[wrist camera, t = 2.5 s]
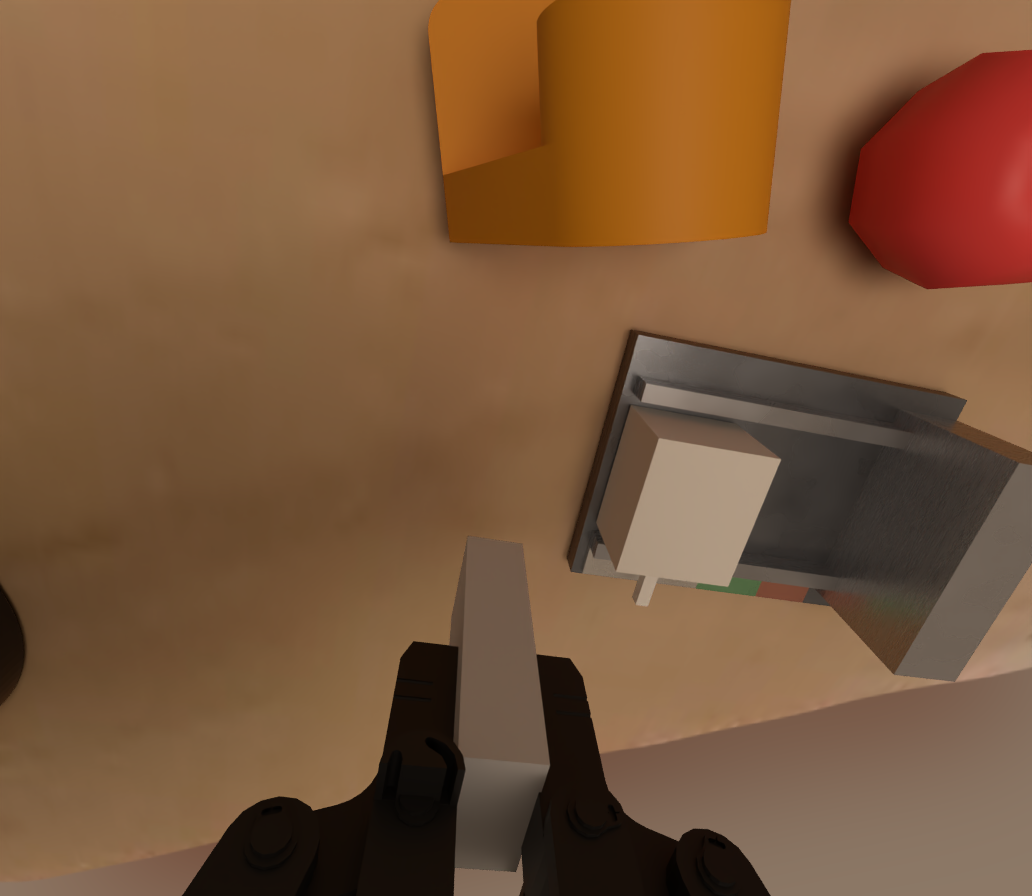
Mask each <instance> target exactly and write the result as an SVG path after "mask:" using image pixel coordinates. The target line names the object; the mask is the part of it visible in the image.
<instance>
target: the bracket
mask: <svg viewBox="0 0 1032 896" xmlns="http://www.w3.org/2000/svg"><path fill="white" fill-rule="evenodd" d="M790 5H791V0H439V1H438V2H437V4H436V5H435V6H434V8H433V10H432V12H431V15H430V18H429V24H428V35H429V44H430V54H431V64H432V73H433V83H434V93H435V102H436V112H437V122H438V131H439V141H440V151H441V161H442V170H443V180H444V190H445V199H446V209H447V219H448V228H449V238H450V242H455V243H481V244H507V245H533V246H559V247H592V246H624V245H646V244H664V243H679V242H694V241H706V240H718V239H729V238H738V237H747V236H754V235H760V234H764V233H766V232H767V223H768V214H769V204H770V195H771V185H772V176H773V166H774V157H775V147H776V138H777V128H778V119H779V109H780V100H781V91H782V81H783V72H784V62H785V53H786V43H787V34H788V24H789V15H790Z"/></svg>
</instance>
